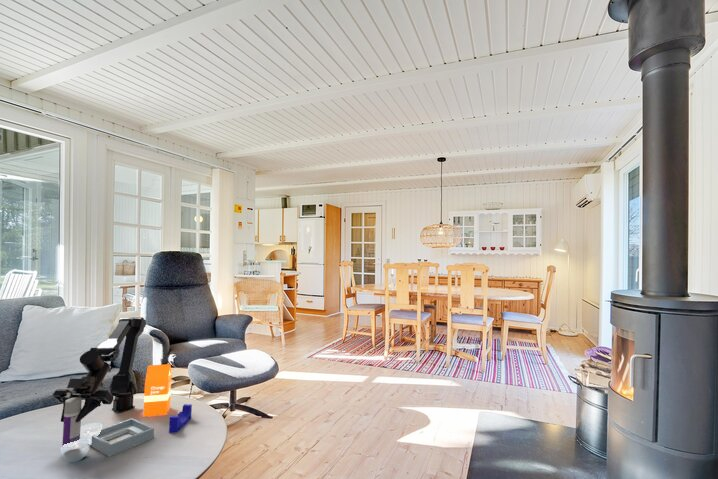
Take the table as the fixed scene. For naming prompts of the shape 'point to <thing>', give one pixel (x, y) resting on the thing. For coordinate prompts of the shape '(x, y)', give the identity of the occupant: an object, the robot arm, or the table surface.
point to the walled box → (131, 426)
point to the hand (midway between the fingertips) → (69, 421)
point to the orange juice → (157, 390)
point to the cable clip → (180, 419)
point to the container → (71, 420)
